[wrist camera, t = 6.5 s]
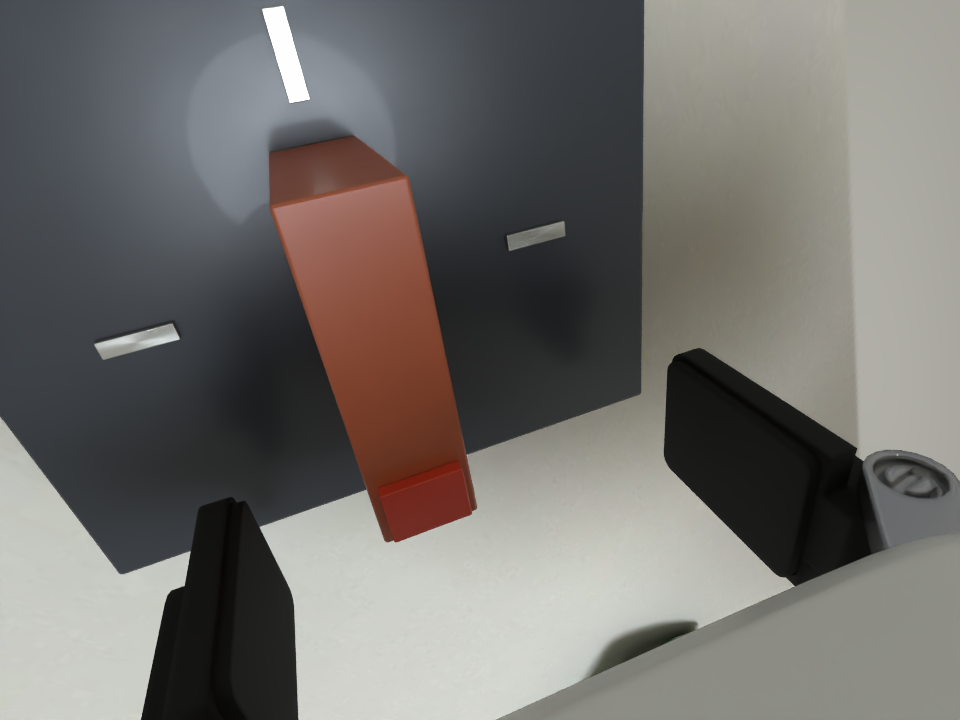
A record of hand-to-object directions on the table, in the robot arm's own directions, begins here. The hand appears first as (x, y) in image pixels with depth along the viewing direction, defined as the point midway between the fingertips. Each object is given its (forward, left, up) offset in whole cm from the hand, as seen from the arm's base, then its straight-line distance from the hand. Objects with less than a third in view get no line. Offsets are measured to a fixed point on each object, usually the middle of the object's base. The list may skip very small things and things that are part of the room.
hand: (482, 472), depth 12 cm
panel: (+1, -4, -5) cm, 7 cm away
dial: (+1, -4, -2) cm, 5 cm away
